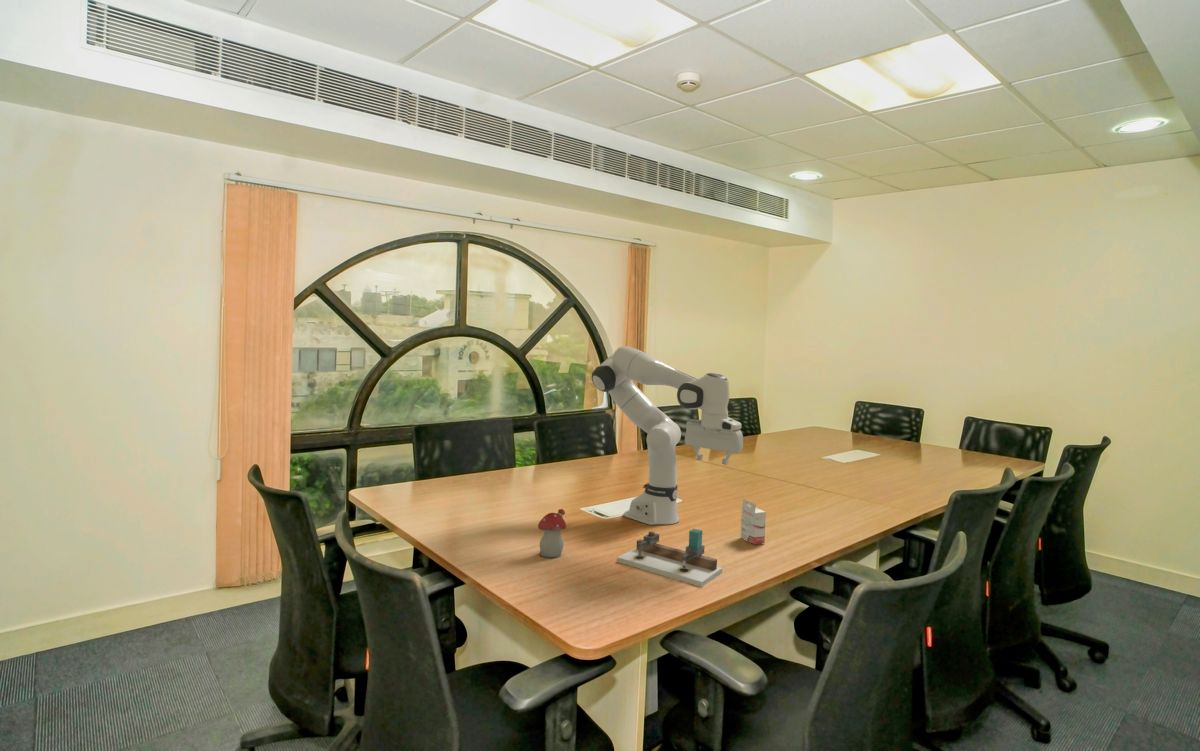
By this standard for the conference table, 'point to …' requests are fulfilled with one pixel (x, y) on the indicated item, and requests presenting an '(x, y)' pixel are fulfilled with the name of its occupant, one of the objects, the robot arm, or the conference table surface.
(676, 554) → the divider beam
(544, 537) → the decorative ornament
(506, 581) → the conference table surface
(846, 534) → the conference table surface
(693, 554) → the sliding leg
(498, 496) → the conference table surface
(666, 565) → the bolt plate
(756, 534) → the ink cartridge box
